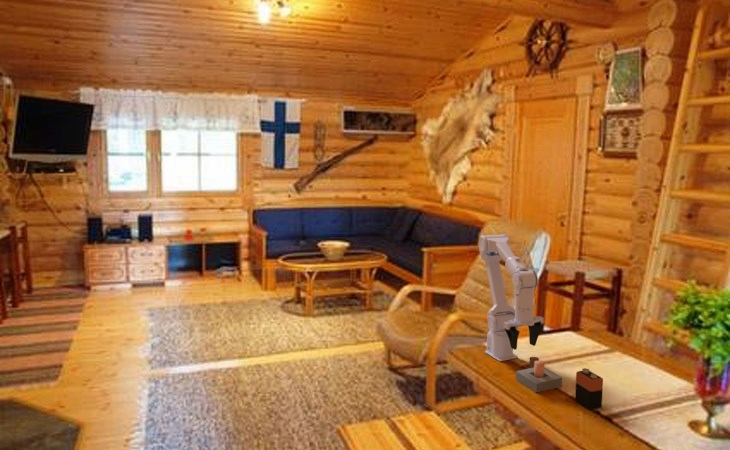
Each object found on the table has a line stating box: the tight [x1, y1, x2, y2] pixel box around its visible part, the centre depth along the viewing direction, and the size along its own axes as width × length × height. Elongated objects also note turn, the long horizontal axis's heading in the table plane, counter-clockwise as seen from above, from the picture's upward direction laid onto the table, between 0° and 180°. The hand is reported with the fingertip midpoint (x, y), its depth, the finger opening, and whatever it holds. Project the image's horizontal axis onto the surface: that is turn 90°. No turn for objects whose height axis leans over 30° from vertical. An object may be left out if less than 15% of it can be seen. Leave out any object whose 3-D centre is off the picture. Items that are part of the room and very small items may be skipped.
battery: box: [574, 367, 604, 411], centre depth 162 cm, size 4×7×10 cm, turn 17°
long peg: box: [534, 360, 545, 378], centre depth 177 cm, size 3×3×7 cm
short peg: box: [528, 356, 540, 369], centre depth 187 cm, size 3×3×4 cm
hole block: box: [515, 367, 563, 393], centre depth 177 cm, size 10×10×3 cm
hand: (523, 346), depth 183 cm, fingers open, 7 cm apart
